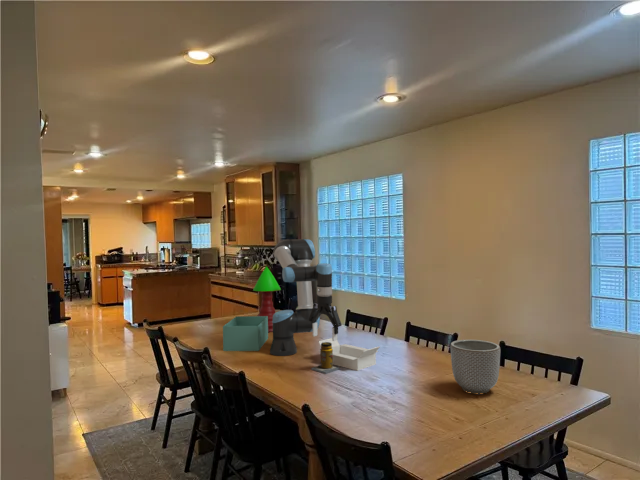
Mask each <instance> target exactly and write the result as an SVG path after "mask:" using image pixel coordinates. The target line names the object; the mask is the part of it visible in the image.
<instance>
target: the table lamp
mask: <svg viewBox="0 0 640 480" xmlns="http://www.w3.org/2000/svg"><path fill="white" fill-rule="evenodd" d="M252 289H253V290H252V291H253V292H256V293H257V292H258V293H259V292H261V299H262V300H261V307H260V308H259V312H258V314H257V315H256V316H268V333H273V323H272V321H273V314H274V313H276V309H275V307H274V302H273V292H278V291H281V290H282V289H281V287H280V285H279V283H278V281H277V280H276V278H275V276H274V275H273V273H272V272H271V270H270V269H269V268H268V266H265V267H264V270H263V271H262V272H261V274H260V275H259V277H258V279H257V281H256V284H255V285H254V287H253V288H252Z"/></svg>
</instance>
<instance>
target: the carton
mask: <svg viewBox="0 0 640 480" xmlns="http://www.w3.org/2000/svg"><path fill="white" fill-rule="evenodd" d="M317 342H318V345H319V346H320V347H321V343H323V342H330V343H331V344H332V349H333V366H337V367H342V368H347V369H349V370H354V371H357V372H359V371H361V370H364V369H366V368H370V367H372V366H375V365H377V359H376V358H377V353H378V352H379V351H378V350H379V349H380V348H381V346H379V345H378V346H376V347H372V348H365V347H362V346H356V345H351V344H346V343H344V344H340V343H339V341H338V339H337V340H336V341H332V337H331V338H327V339H323V340H319V341H317ZM318 352H319V353H320V350H318Z"/></svg>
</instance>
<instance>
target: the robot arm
mask: <svg viewBox="0 0 640 480" xmlns="http://www.w3.org/2000/svg"><path fill="white" fill-rule="evenodd" d="M273 257H274V259H275V260H276V261H277V262H279V264H280V267H282V270H281V271H282V274H281V275H282V280H283V282H284V283H296V291H297V292H296V293H297V306H296V308H295V312H294V310H292V309H283V310H279V311H275V313H274V314H273V321H272V323H273V332H272V342H271V345H270V348H269V354H271V356H276V357H277V356H280V357H283V356H287V357H288V356H292V355H295V354H297V352H298V349H297V345H296V341H295V339H294V334H301V333H312V337H317V336H318V329H319V326H320V322H321V321H320V320H321V319H320V318H321V315H325V316H327V317H328V319H329V321H330V323H331V325H332V328H331V331H332V333H331V334H332V335H331V338H332V341H336V340H337V341H338V334H339V328H340V327H342V322H341V319H340V316H339V314H338V311H337V309H338V308H337V306H336V305H334V306H332V303H333V268H332V264H330V263H326V262H324V263H318V264H316V265H312V266H311V264H312V262H313V260H314V259H315V257H316V249H315V245H314V243H313V241H312V240H311V239H307V238H306V239H305V238H300V239H299V238H298V239H295V238H294V239H283V240H281V241H279V242H278V243H277V244H275V245H274V248H273ZM312 282H316V295H317V296H316V302H313V288H312Z"/></svg>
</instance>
